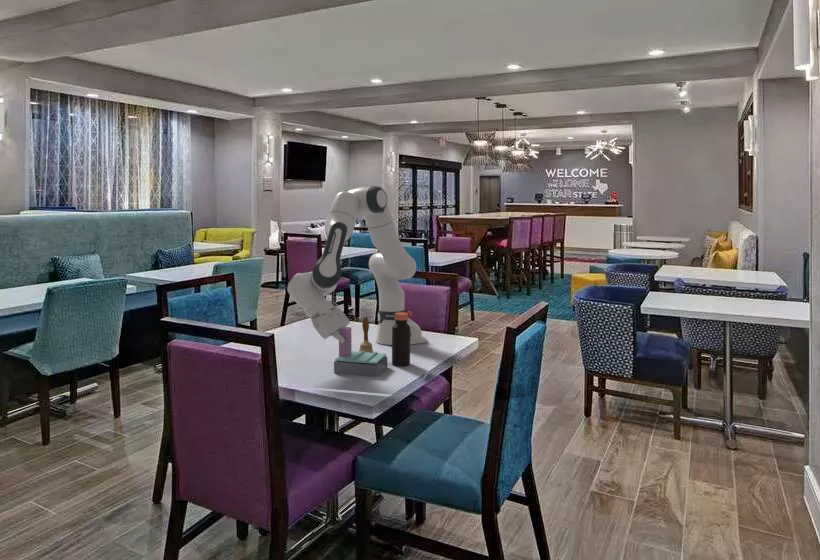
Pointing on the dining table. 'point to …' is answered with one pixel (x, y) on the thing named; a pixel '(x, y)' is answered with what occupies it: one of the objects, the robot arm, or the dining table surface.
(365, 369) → the tray
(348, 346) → the lid
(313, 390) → the dining table surface
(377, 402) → the dining table surface
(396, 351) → the bottle
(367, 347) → the hand bell
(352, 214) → the robot arm
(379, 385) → the dining table surface
